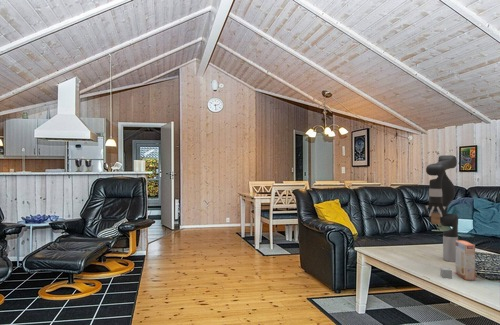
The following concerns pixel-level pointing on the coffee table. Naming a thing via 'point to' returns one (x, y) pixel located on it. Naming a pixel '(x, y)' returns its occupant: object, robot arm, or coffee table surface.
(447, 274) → the grey block
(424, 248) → the coffee table surface
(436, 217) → the walnut block
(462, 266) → the cracker box
